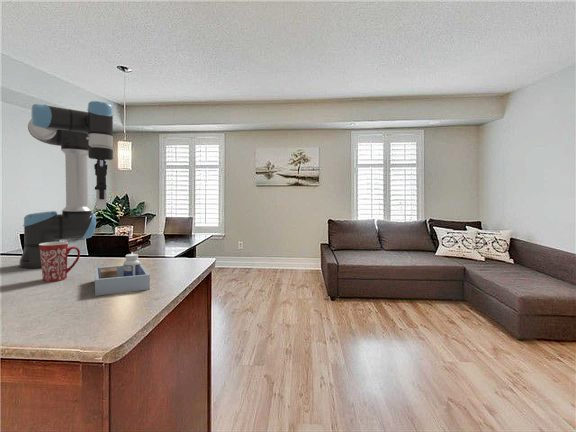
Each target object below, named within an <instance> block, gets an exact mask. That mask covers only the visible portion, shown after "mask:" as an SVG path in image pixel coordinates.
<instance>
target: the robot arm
mask: <svg viewBox="0 0 576 432" xmlns="http://www.w3.org/2000/svg"><path fill="white" fill-rule="evenodd" d="M113 111H114V110H113V106H112V105H111V104H110V103H108V102H104V101H99V100H98V101H96V100H92V101H89V102H88V105H87V110H86V111H82V110H77V109H70V108H63V107H58V106H53V105H52V106H50V105H46V104H40V103H33V104H32V106H31V119H30V120H29V121H28V123H27V130H28V132H29V134H30V135H31V137H33V138H34V139H36V140H38V141H39V142H41V143H44V144H47V145H52V146H60V151H61V152H62V153H63V154H64V155H65V160H64V161H65V164H64V165H65V207H64V208H63V209H62V210H61V214H58V213H57V211H54V210H53V211H41V212H34V213H33V212H32V213H28V214H26V215H25V216H24V218H23V224H22V225H23V234H24V235H23V236H24V237H23V239H24V241H23V246H24V248H23V251H22V254H21V257H20V259H19V262H18V263H19V267H20V268H23V269H24V268H25V269H38V268H41V269H42V266H41V256H40V247H39V244H41V243H47V242H58V241H63V240H65V241H66V240H67V241H68V240H82V239H90V238H92V236H94V235H95V230H96V225H97V224H96V223H97V219H96V218H97V217H96V214H95V213H93V211H92V209H91V207H90V208H89V205H88V204H89V201H88V200H89V199H88V198H89V197H88V196H89V195H88V191H89V190H88V189H89V187H88V186H89V185H88V182H89V181H88V158H89V159H92V160H96V163H94V165H93V167H94V173H95V174H94V175H95V176H96V184H95V185H96V186H94V190H95V192H96V193H95V196H96V197H95V202H96V204H95V206H96V210H107V175H108V164H107V161H111V160H113V159H114V150H113V149H112V148H114V134H113V131H114V128H113V126H114V125H113V123H114V119H113V118H114V114H113V113H114V112H113Z"/></svg>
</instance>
